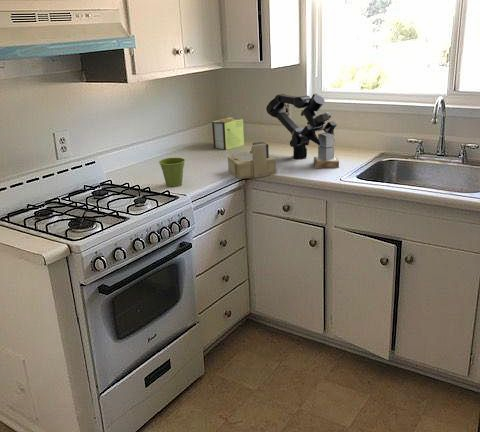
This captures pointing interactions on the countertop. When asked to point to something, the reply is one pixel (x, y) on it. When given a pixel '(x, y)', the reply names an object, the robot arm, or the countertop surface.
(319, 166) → the stand
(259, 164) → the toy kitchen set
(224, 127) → the protein box
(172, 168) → the plant pot
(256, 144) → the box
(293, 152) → the robot arm
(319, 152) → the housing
